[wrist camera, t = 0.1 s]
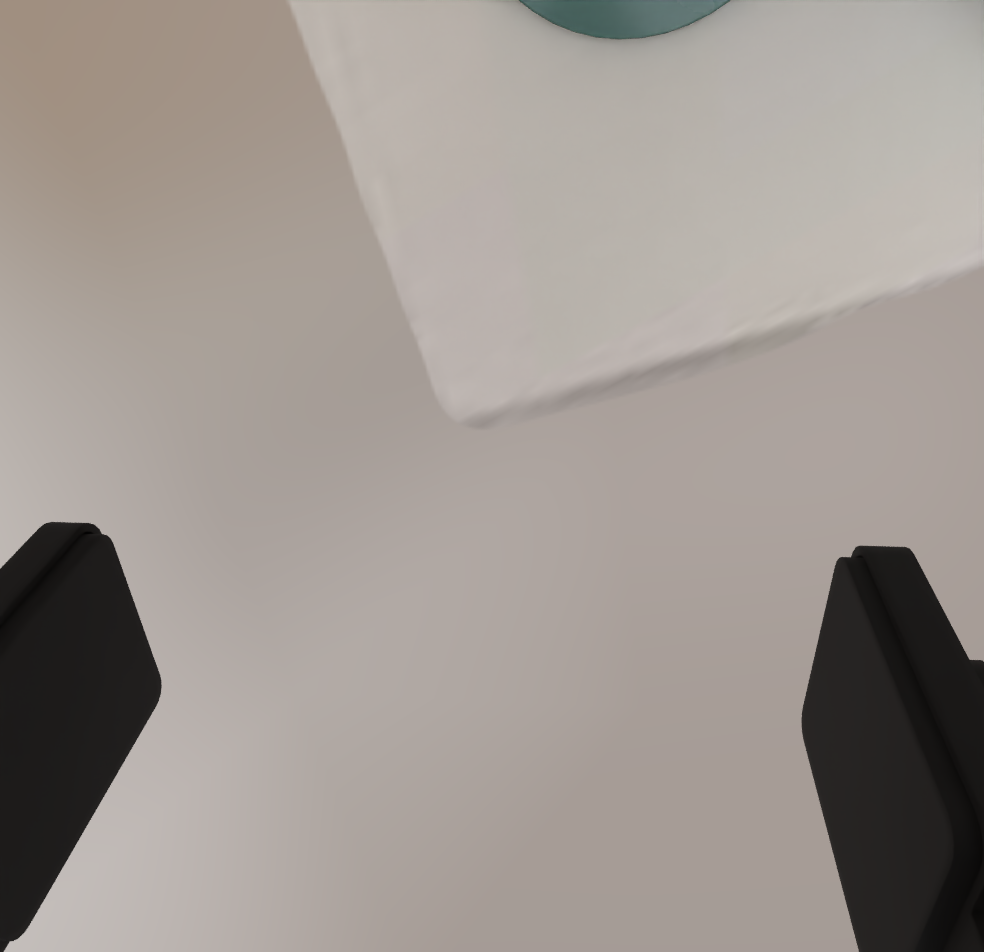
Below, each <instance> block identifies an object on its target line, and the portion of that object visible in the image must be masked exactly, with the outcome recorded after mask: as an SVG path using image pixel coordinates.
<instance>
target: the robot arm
mask: <svg viewBox="0 0 984 952" xmlns="http://www.w3.org/2000/svg"><path fill="white" fill-rule="evenodd" d="M160 694H161V677H160V674H159V671H158V668H157V665H156V663H155V660H154V657H153V654H152V651H151V648H150V646H149V643H148V640H147V637H146V635H145V632H144V629H143V626H142V623H141V620H140V618H139V615H138V612H137V609H136V607H135V603H134V601H133V598H132V595H131V593H130V590H129V587H128V584H127V581H126V578H125V576H124V573H123V570H122V567H121V564H120V561H119V558H118V556H117V553H116V550H115V547H114V544H113V542H112V540H111V539H110V538H109V537H108V536H107V535H103V534H101V532H100V529H98V528H97V527H96V526H95V525H94V524H90V523H65V522H50V523H46V524H44V525H43V526H41V527H40V528H39V529H38V530H37V531H36V532H35V533H34V534H33V535H32V536H31V537H30V538H29V539H28V540H27V542H25V543H24V545H23V546H22V547H21V548H20V549H19V550H18V551H17V552H16V553H15V554H14V555H13V556H12V557H11V558H10V559H9V560H8V561H7V562H6V564H5V565H4V566H2V568H1V569H0V952H4V950H5V948H6V947H7V945H8V943H9V942H10V941H14V940H16V939H18V938H19V937H20V936H21V935H22V934H23V933H24V932H25V931H26V929H27V928H28V926H29V925H30V923H31V921H32V919H33V918H34V916H35V914H36V913H37V911H38V909H39V908H40V905H41V904H42V902H43V901H44V899H45V897H46V895H47V894H48V892H49V890H50V889H51V887H52V885H53V883H54V882H55V880H56V878H57V877H58V875H59V873H60V871H61V870H62V868H63V866H64V864H65V863H66V861H67V859H68V857H69V856H70V854H71V852H72V851H73V849H74V847H75V845H76V844H77V842H78V840H79V838H80V837H81V835H82V833H83V832H84V830H85V828H86V826H87V825H88V823H89V821H90V820H91V818H92V816H93V814H94V813H95V811H96V809H97V807H98V806H99V804H100V802H101V800H102V799H103V797H104V795H105V793H106V792H107V790H108V788H109V787H110V785H111V783H112V781H113V780H114V778H115V776H116V775H117V773H118V771H119V769H120V767H121V766H122V764H123V762H124V761H125V759H126V757H127V756H128V754H129V752H130V750H131V749H132V747H133V745H134V744H135V742H136V740H137V738H138V737H139V735H140V733H141V731H142V730H143V728H144V726H145V724H146V723H147V721H148V719H149V718H150V716H151V714H152V712H153V711H154V709H155V707H156V705H157V703H158V701H159V697H160ZM802 733H803V739H804V743H805V747H806V751H807V754H808V759H809V762H810V766H811V770H812V774H813V778H814V781H815V785H816V789H817V793H818V796H819V800H820V804H821V808H822V812H823V816H824V820H825V823H826V827H827V831H828V835H829V839H830V842H831V846H832V850H833V854H834V858H835V862H836V865H837V869H838V873H839V877H840V881H841V884H842V888H843V892H844V896H845V900H846V904H847V907H848V911H849V915H850V919H851V923H852V926H853V930H854V934H855V938H856V941H857V945H858V949H859V952H984V662H983V661H981V660H969V658H968V656H967V654H966V652H965V651H964V649H963V647H962V645H961V643H960V641H959V639H958V637H957V635H956V633H955V632H954V630H953V628H952V626H951V624H950V622H949V620H948V618H947V616H946V614H945V613H944V611H943V609H942V607H941V605H940V603H939V601H938V599H937V597H936V595H935V593H934V591H933V590H932V588H931V586H930V584H929V582H928V580H927V578H926V576H925V574H924V572H923V571H922V569H921V567H920V565H919V563H918V561H917V559H916V557H915V555H914V554H913V552H912V551H911V550H910V549H909V548H907V547H886V546H884V547H883V546H858V547H856V548H855V550H854V551H853V553H852V556H851V557H841V558H839V559H838V560H837V562H836V565H835V569H834V573H833V578H832V582H831V586H830V591H829V595H828V600H827V604H826V609H825V613H824V617H823V622H822V626H821V630H820V635H819V640H818V644H817V648H816V652H815V657H814V661H813V666H812V670H811V674H810V679H809V683H808V688H807V692H806V696H805V701H804V705H803V711H802Z"/></svg>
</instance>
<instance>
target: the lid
mask: <svg viewBox="0 0 984 952" xmlns="http://www.w3.org/2000/svg"><path fill="white" fill-rule="evenodd" d="M519 1H520V2H522V3H523V4H524V5H525V6H527V7H528V8H529V9H531V10H532V11H533V12H535V13H536V14H538V15H540V16H541V17H543V18H545V19H547V20H548V21H550V22H552V23H553V24H556V25H558V26H561V27H563V28H566V29H568V30H571V31H573V32H576V33H581V34H585V35H589V36H593V37H598V38H610V39H633V38H645V37H649V36H654V35H659V34H664V33H667V32H670V31H673V30H676V29H679V28H682V27H685V26H687V25H690V24H692V23H694V22H696V21H698V20H699V19H701V18H703V17H705V16H707V15H709V14H711V13H713V12H714V11H716V10H717V9H719V8H720V7H722V6H723V5H724V4H726V3H727V2H729V1H730V0H519Z"/></svg>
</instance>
